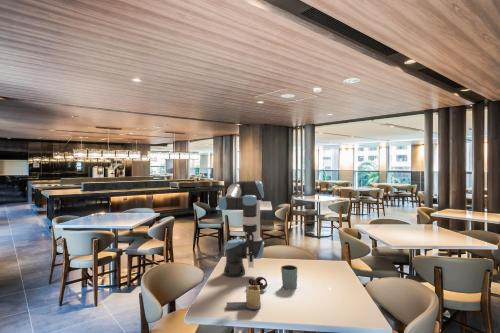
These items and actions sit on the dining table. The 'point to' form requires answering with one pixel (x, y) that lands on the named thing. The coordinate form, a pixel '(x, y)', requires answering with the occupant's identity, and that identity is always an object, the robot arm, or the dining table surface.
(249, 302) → the hollow square tube
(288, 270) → the grey green cup
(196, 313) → the dining table surface
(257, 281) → the ring-shaped clay flask
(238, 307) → the grey handled bowl
